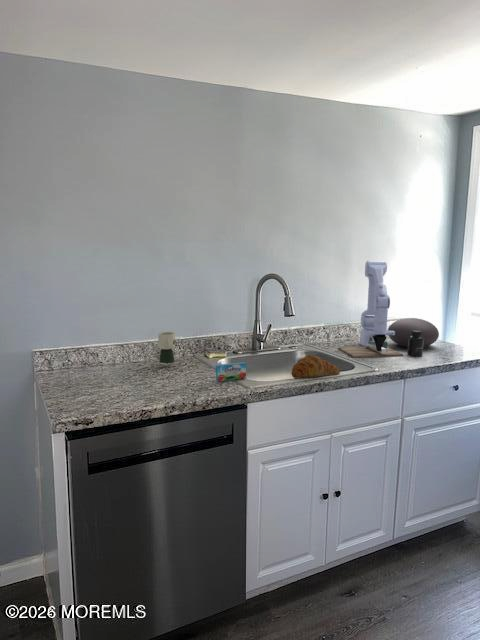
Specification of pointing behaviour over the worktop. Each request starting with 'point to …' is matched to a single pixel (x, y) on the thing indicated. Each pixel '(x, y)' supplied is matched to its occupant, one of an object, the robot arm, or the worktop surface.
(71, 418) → the worktop surface
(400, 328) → the smooth stone
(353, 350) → the board
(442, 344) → the worktop surface
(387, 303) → the robot arm
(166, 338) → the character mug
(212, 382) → the worktop surface
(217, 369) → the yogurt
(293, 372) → the pastry
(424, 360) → the worktop surface
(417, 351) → the supplement bottle
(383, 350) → the link
